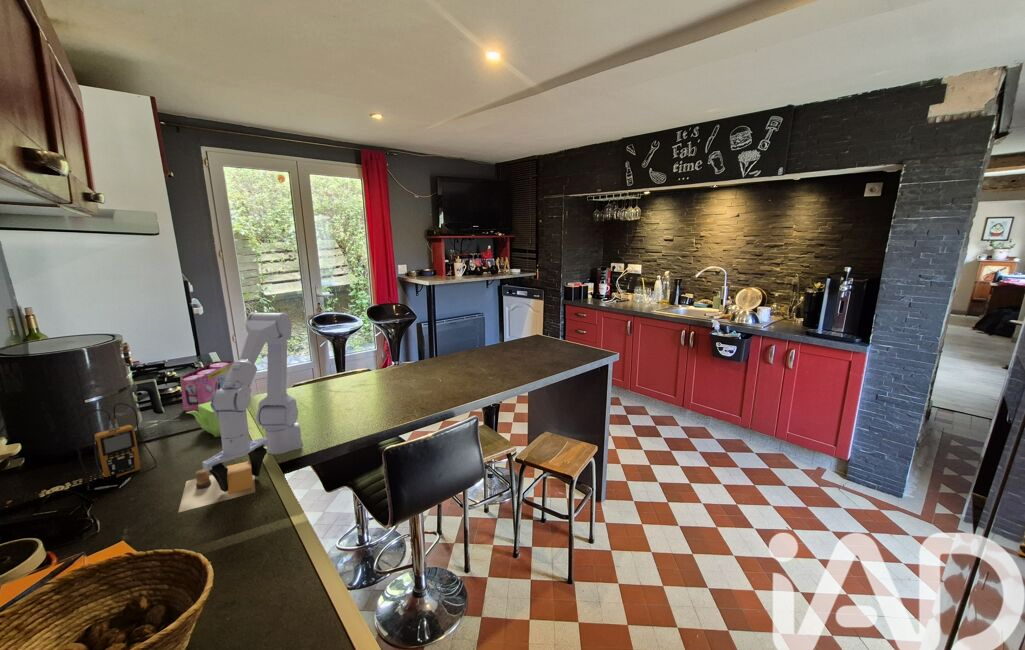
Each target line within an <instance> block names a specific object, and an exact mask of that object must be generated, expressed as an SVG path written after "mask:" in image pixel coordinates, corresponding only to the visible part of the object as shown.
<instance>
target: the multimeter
mask: <svg viewBox="0 0 1025 650" xmlns="http://www.w3.org/2000/svg"><path fill="white" fill-rule="evenodd" d="M119 405H124V406H128V407H129V408H130V409H132V410H133V411H134V414H135V420H136V430H137V436H138V438H139V439H140V441H141V442H142V444H143V445H144V447H145V449H146V450H147V452H148V453H149V454H150V456H151V457H152V460H153V461H154V463H155V465H154V466H152V467H151V468H149V469H146V470H143V471H139V470H141V468H142V467H141V462H140V455H139V448H138V443H137V437H136V432H135V427H134V426H133V425H132V424H126V425H123V426H120V427H119V423H118V421H117V418H116V412H115V411H116V410H115V408H116V407H117V406H119ZM112 410H113V418H114V427H113V424H112V420H111V415H110V412H108V411H107V410H105V409H93V410H90V411H88V412H86V413H85V414H84V415H82V417H81V418H80V420H79V423H78V426H77V431H76V448H77V455H78V458H79V462H80V465H81V467H82V470H83V473H84V476H85V479H86V484H87V491H94V490H103V489H109V488H111V487H117V486H118V484H115V485H106V486H99V487H95V488H90V483H89V482H90V481H89V479H88V476H87V473H86V470H85V466H84V463H83V460H82V456H81V453H80V448H79V447H80V446H79V431H80V427H81V423H82V421H83V419H84V417H86V416H87V415H88V414H89V413H92V412H96V411H101V412H104V413H106V414H107V415H108V423H109V430H105V431H104V430H103V431H101V432H96V433H95V434H94V446H93V449H94V450H93V451H94V456H95V463H96V465H97V467H98V469H99V471H100V472H101V476H102V475H103V476H104V477H108V476H111V475H114V474H116V475H117V476H116V478H119V477H121V476H124V475H127V474H131V473H133V472H136V473H134V474H132V475H131V476H130V477H128V478H127V479H126V480H124V482H122V484H121V485H120V486H119V488H118V489H120V488H121V487H123V486H124V485H126V484H127V483H128V482H129V481H130V480H131V479H132V478H133V477H134V476H135V475H137V474H138V475H139V474H141V473H145V472H148V471H150V470H153V469H154V468H156V467H157V464H158V463H157V460H156V459H155V457H154V456H153V454H152V452H151V451H150V450H149V448H148V446H147V445H146V443H145V442H144V440H143V439H142V437H141V434H140V432H139V431H140V430H139V423H138V422H139V421H138V414H137V411H136V410H135V408H134V407H133V406H131V405H129V404H128V403H123V402H122V403H117V404H115V405H114V406H113V409H112ZM138 471H139V472H138Z"/></svg>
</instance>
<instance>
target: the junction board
mask: <svg viewBox="0 0 1025 650" xmlns="http://www.w3.org/2000/svg"><path fill="white" fill-rule="evenodd" d="M252 476H253V488H249V489H245V490H242V491H238V492H234V493H230V494H228V491H226V492H224V491H222V490H221V489H220V486H219V484H218V482H217V481H216V479H215V478H214V476H213V475H212V474H210V472H209V471H206V470H204V469H203V468H202V469H200V470H197V471H196V472H195V478H192V479H189V480H186V482H185V486H184V489H183V492H182V493H183V494H182V497H181V500H180V501H181V502H180V505H179V508H178V511H177V512H178V514H179V513H182V512H186V511H190V510H194V509H197V508H202V507H206V506H208V505H209V506H210V505H213V504H217V503H220V502H223V501H224V502H225V501H227V500H231V499H235V498H238V497H239V498H240V497H243V496H246V495H250V494H254V493H256V483H255V482H256V481H255V480H256V478H255V477H256V476H254V475H252Z"/></svg>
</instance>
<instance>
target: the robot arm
mask: <svg viewBox="0 0 1025 650" xmlns="http://www.w3.org/2000/svg"><path fill="white" fill-rule="evenodd" d="M245 321H246V322H245V330H246V333H247V335H246V339H245V340H244V341H245V342H244V345H243V348H242V351H241V354H240V357H239V360H236V361H234V363H233V364H232V366H231V368H230V370H229V372H228V375H227V377H226V379H225V381H224V384H223V386H222V388H221V389H219V390H217V391H216V392H215V393H214V394H213V396H212V399H211V404H210V405H211V408H212V410H213V411H214V412H215V415H216V417H217V418H218V419H219V424H220V433H221V436H220V439H221V448H222V449H221V450H222V451H220V452H218V453H216V454H215V455H213V456H212V457H209V458H208V459H206V460H204V461H202V462H201V463H202V469H204V470H206V471H209V474H210V475H213V476H214V478H215V479H216V481H217V482H218V484H219V486H220V489H221V490H222V491H224V492H226V491H228V482H227V473H228V468H227V466H226V467H225V465H224V464H225V463H228V462H229V461H233V460H234V459H237V458H241V457H243V456H246V455H248V458H249V461H251V467H252V475H254V476H255V477H256V478H257V477H259V476H260V472H261V468H262V465H263V461H264V459H265V457H266V455H267V454H269V455H281V454H285V453H287V452H291V451H295V450H299V449H300V450H301V449H303V448H302V447H303V446H302V445H303V440H302V433H301V431H302V430H301V424H300V422H299V421H298V418H299V410H298V407H297V406H298V405H297V399H295V398H294V397H293V396H291V395H290V394H288V393H287V391H288V390H287V386H288V385H287V384H288V380H287V379H288V341H289V340H291V339H292V319H291V317H290V316H289V314H288V313H286V312H256V311H253V312H252V311H251V312H250V313H249V314H248V316H247V317H246V320H245ZM265 344H267V380H266V383H267V386H266V387H267V389H266V396H265V397H264V398H263V399H261V400H260V401H259V402H258V408H257V411H256V416H255V418H256V420H255V421H256V422H257V424H258V425H259V426H261V428H262V430H264V433H265V437H260V438H258V439H257V438H256V439H253V440H250V434H249V433H250V432H249V425H248V414H247V408H248V407H249V405H250V404H251V399H252V398H251V394H252V388H251V386H252V383H253V381H254V380H255V379H254V378H255V377H256V373H257V371H258V367H257V365H256V362H257V360H258V358H259V356H260V354H261V352H262V351H263V349H264V346H265Z"/></svg>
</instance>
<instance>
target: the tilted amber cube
mask: <svg viewBox="0 0 1025 650" xmlns="http://www.w3.org/2000/svg"><path fill="white" fill-rule="evenodd" d="M226 468H228V473H227V482H228V494H230V493H234V492H238V491H242V490H245V489H249V488H253V476H252V467H251V461H250V460H247V461H244V462H239V463H236V464H235V463H234V464H232V465H226Z"/></svg>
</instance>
